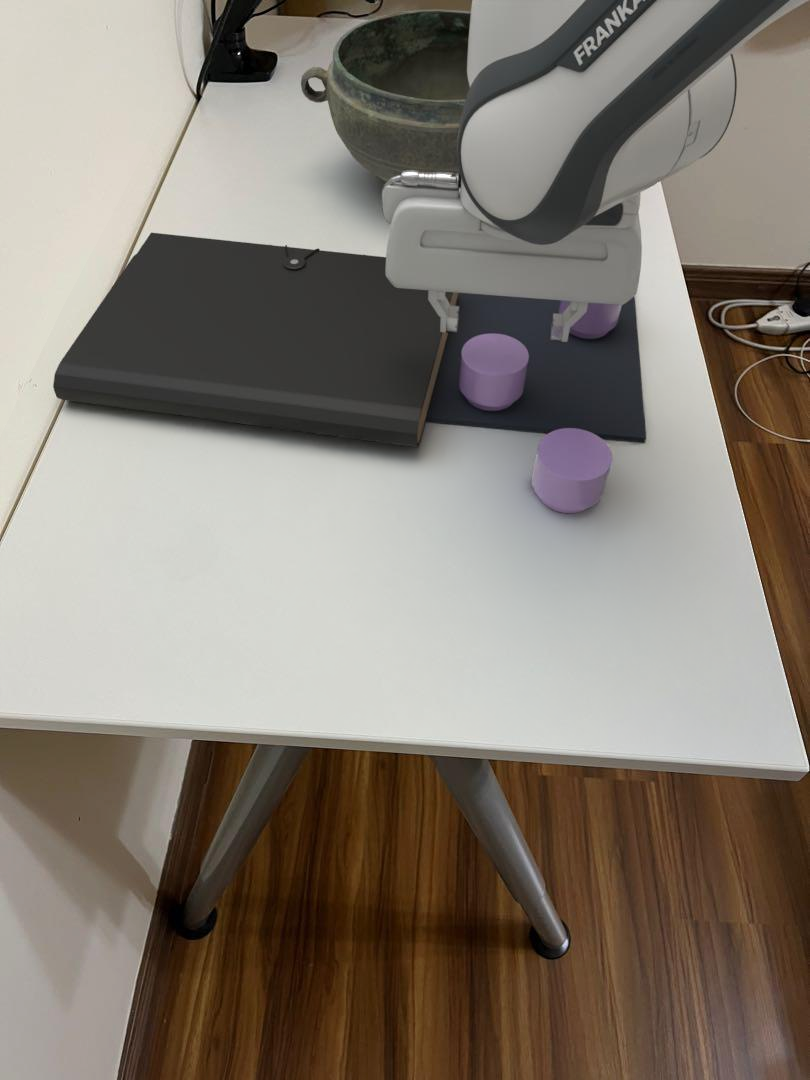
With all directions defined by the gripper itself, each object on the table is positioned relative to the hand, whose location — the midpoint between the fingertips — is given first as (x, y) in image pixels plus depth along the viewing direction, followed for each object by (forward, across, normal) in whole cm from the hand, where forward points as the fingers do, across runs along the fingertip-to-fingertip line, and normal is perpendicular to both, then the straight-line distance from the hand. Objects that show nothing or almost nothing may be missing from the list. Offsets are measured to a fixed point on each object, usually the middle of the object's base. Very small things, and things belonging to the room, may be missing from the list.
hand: (503, 333), depth 73 cm
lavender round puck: (+7, +8, +12) cm, 16 cm away
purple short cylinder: (+8, +6, -11) cm, 15 cm away
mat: (+8, +3, +9) cm, 12 cm away
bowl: (+7, -10, +40) cm, 42 cm away
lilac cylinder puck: (+7, -1, 0) cm, 7 cm away
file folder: (+7, -22, +4) cm, 24 cm away
